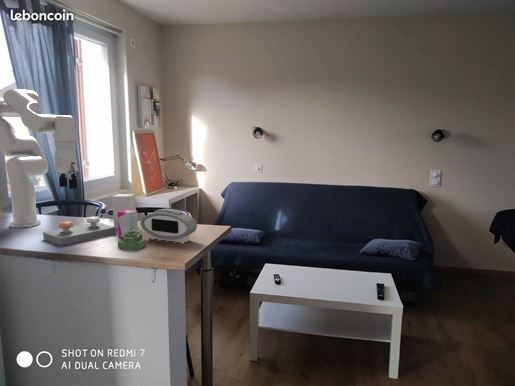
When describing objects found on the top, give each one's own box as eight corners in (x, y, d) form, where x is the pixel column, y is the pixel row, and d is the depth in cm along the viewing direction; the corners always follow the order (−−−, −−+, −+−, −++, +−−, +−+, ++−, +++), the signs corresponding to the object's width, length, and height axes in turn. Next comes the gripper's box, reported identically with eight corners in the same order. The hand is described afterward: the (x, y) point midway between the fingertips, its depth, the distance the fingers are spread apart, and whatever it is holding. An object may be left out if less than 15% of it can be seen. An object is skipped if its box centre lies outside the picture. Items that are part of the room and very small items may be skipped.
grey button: (84, 228, 176) (84, 218, 175) (96, 226, 180) (95, 216, 179) (91, 230, 173) (90, 219, 172) (102, 228, 177) (102, 217, 176)
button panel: (43, 239, 167) (43, 232, 167) (98, 228, 186) (97, 222, 185) (60, 246, 159) (60, 238, 158) (115, 233, 177) (115, 227, 177)
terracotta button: (56, 234, 167) (56, 222, 166) (69, 231, 171) (68, 220, 170) (63, 236, 164) (62, 224, 163) (75, 233, 168) (75, 222, 167)
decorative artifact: (129, 241, 167) (112, 248, 157) (128, 224, 166) (111, 230, 156) (150, 244, 163) (134, 251, 154) (149, 227, 162) (133, 233, 153)
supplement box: (138, 236, 174) (137, 209, 172) (129, 240, 168) (128, 212, 166) (126, 235, 176) (125, 208, 174) (117, 238, 170) (116, 211, 168)
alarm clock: (140, 238, 171) (139, 208, 169) (149, 235, 177) (149, 205, 175) (189, 245, 163) (189, 213, 161) (197, 241, 168) (197, 210, 166)
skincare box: (137, 227, 189) (136, 194, 187) (130, 231, 183) (129, 196, 180) (120, 226, 191) (118, 193, 188) (112, 229, 184) (111, 195, 182)
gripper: (46, 145, 174) (49, 186, 176) (67, 146, 163) (70, 190, 166) (64, 144, 179) (66, 184, 182) (85, 146, 169) (87, 188, 172)
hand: (68, 187), depth 174 cm, fingers open, 7 cm apart
